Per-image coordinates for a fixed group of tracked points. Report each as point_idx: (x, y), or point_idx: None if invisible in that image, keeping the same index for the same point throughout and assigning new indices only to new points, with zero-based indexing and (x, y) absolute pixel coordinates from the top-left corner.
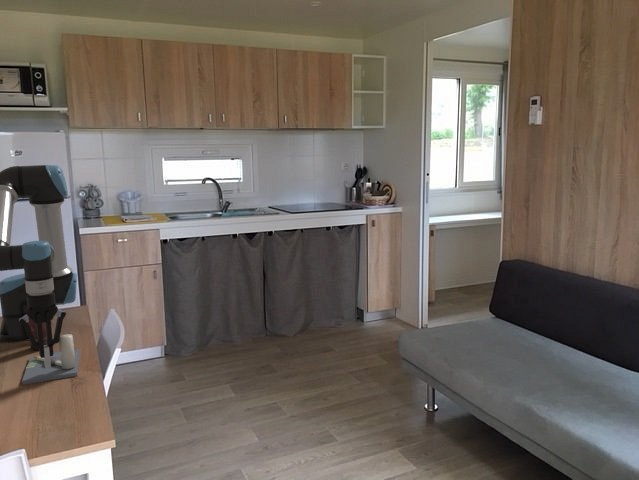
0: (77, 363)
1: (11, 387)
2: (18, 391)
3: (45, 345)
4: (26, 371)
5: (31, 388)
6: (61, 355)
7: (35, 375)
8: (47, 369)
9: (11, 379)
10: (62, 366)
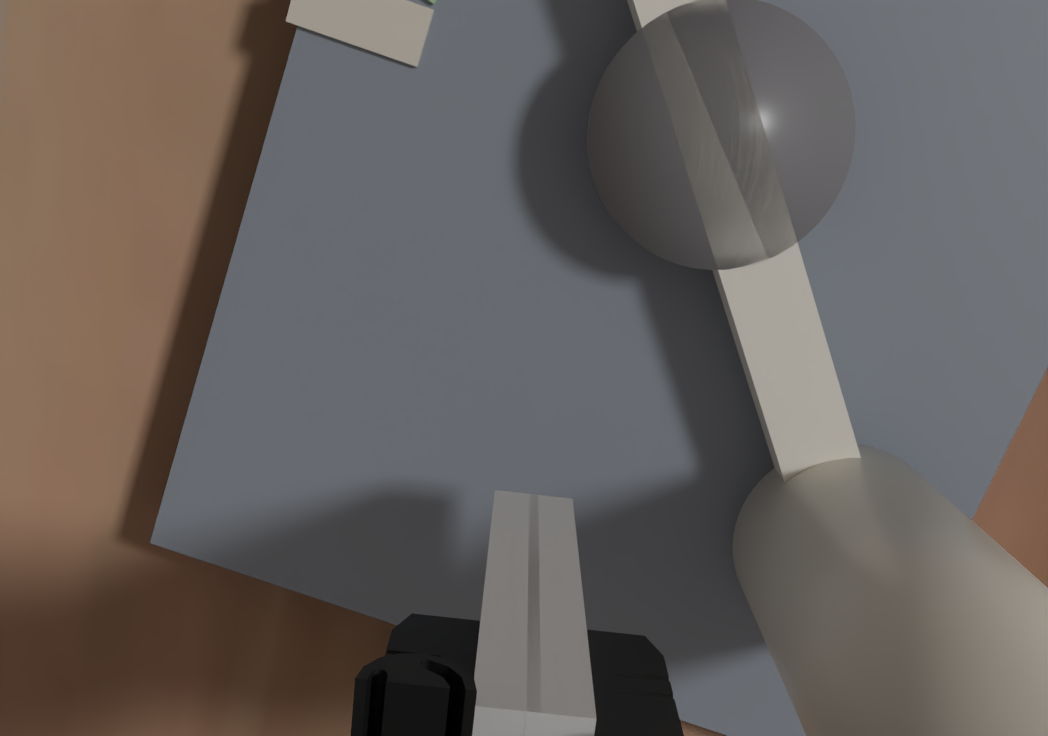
0: (1007, 440)
1: (38, 497)
2: (99, 693)
3: (538, 734)
4: (272, 183)
5: (250, 715)
6: (791, 697)
7: (351, 467)
8: (560, 349)
9: (71, 183)
10: (741, 586)
